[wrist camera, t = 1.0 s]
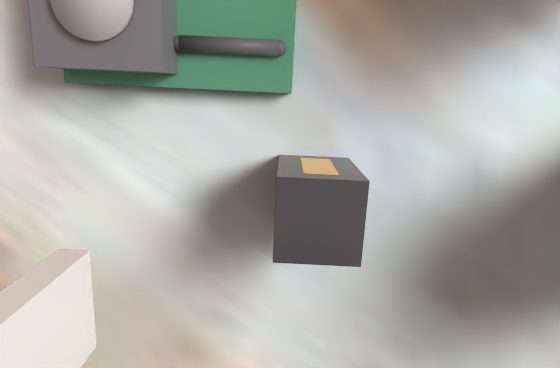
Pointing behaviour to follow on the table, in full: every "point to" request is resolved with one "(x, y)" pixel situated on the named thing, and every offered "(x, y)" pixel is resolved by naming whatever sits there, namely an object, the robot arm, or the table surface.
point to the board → (224, 65)
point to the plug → (319, 211)
